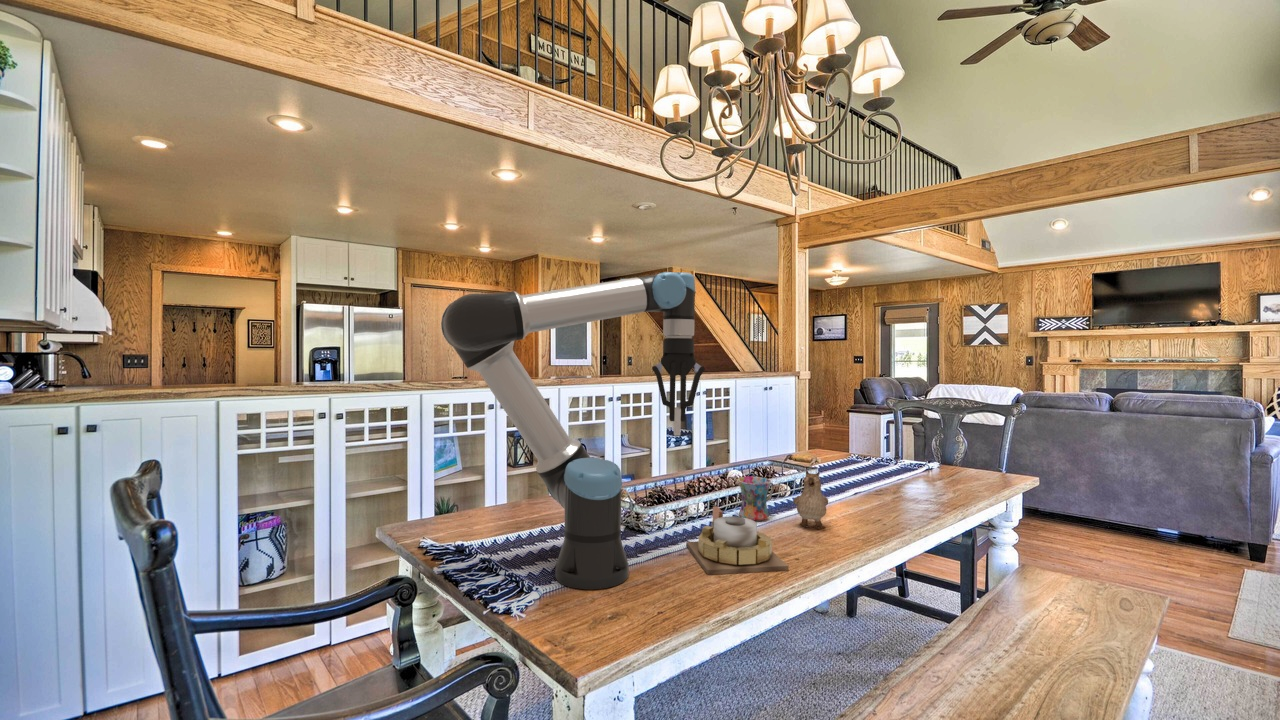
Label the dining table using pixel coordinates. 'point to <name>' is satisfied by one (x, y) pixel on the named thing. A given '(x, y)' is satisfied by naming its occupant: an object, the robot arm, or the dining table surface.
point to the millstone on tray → (732, 554)
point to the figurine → (811, 501)
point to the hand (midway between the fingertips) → (677, 434)
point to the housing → (736, 535)
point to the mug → (754, 497)
